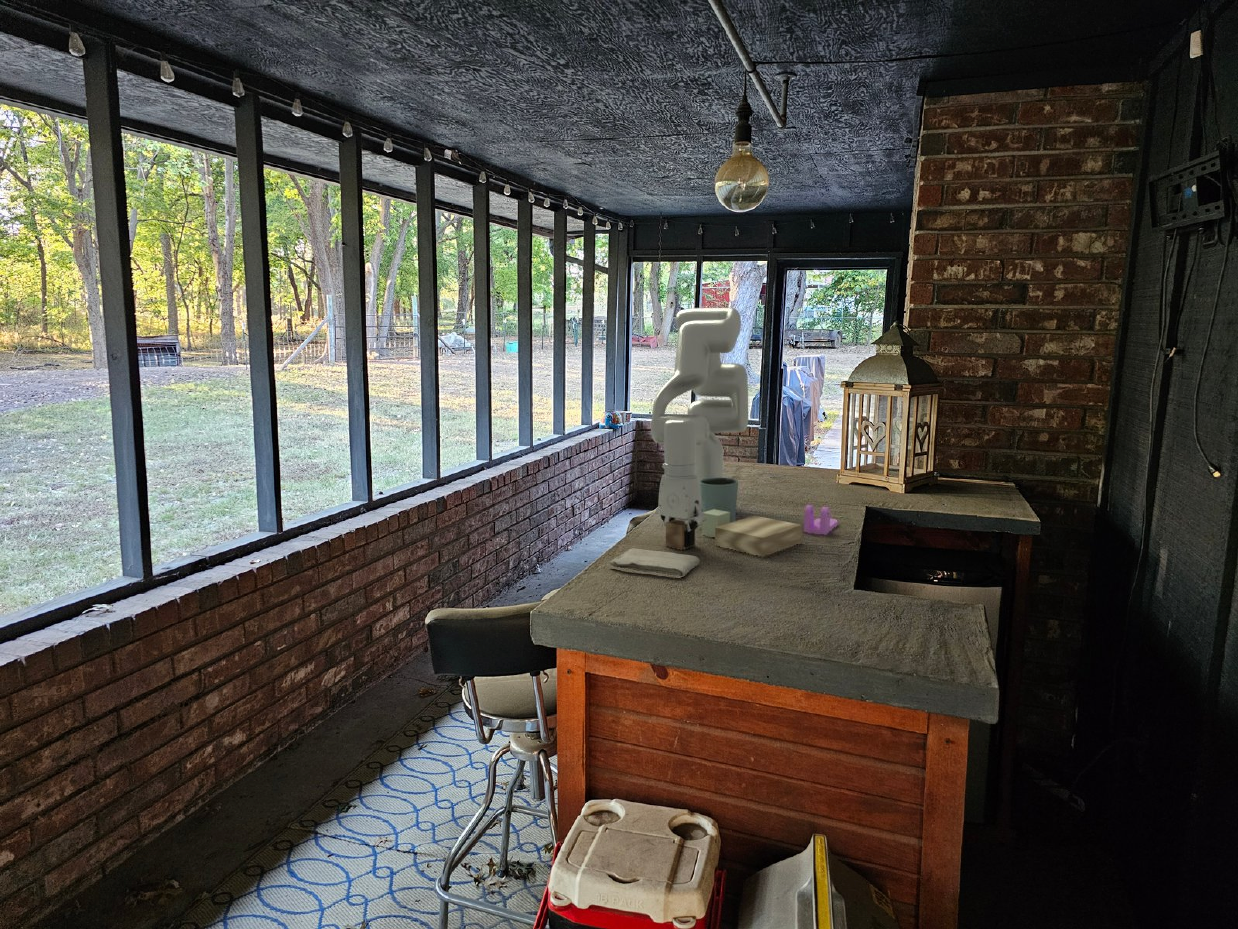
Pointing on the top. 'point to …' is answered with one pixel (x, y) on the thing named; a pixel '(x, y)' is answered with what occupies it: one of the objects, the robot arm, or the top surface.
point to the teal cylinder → (719, 495)
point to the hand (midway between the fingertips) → (680, 543)
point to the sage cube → (714, 521)
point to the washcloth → (656, 561)
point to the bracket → (818, 521)
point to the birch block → (758, 535)
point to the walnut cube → (675, 533)
